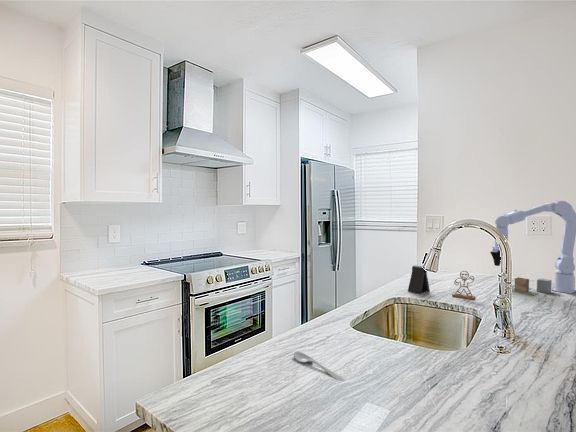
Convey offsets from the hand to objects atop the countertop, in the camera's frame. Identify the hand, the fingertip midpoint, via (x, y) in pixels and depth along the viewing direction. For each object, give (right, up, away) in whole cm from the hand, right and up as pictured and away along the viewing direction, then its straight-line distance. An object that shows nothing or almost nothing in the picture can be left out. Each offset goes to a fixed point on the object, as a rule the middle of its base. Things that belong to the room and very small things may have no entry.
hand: (500, 265), depth 186 cm
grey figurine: (-32, -11, -26) cm, 42 cm away
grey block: (+13, -11, -14) cm, 22 cm away
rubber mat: (+2, -11, -14) cm, 18 cm away
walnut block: (+2, -11, -14) cm, 18 cm away
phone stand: (-48, -11, -15) cm, 52 cm away
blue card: (+6, -11, -6) cm, 14 cm away
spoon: (-102, -13, -97) cm, 141 cm away
